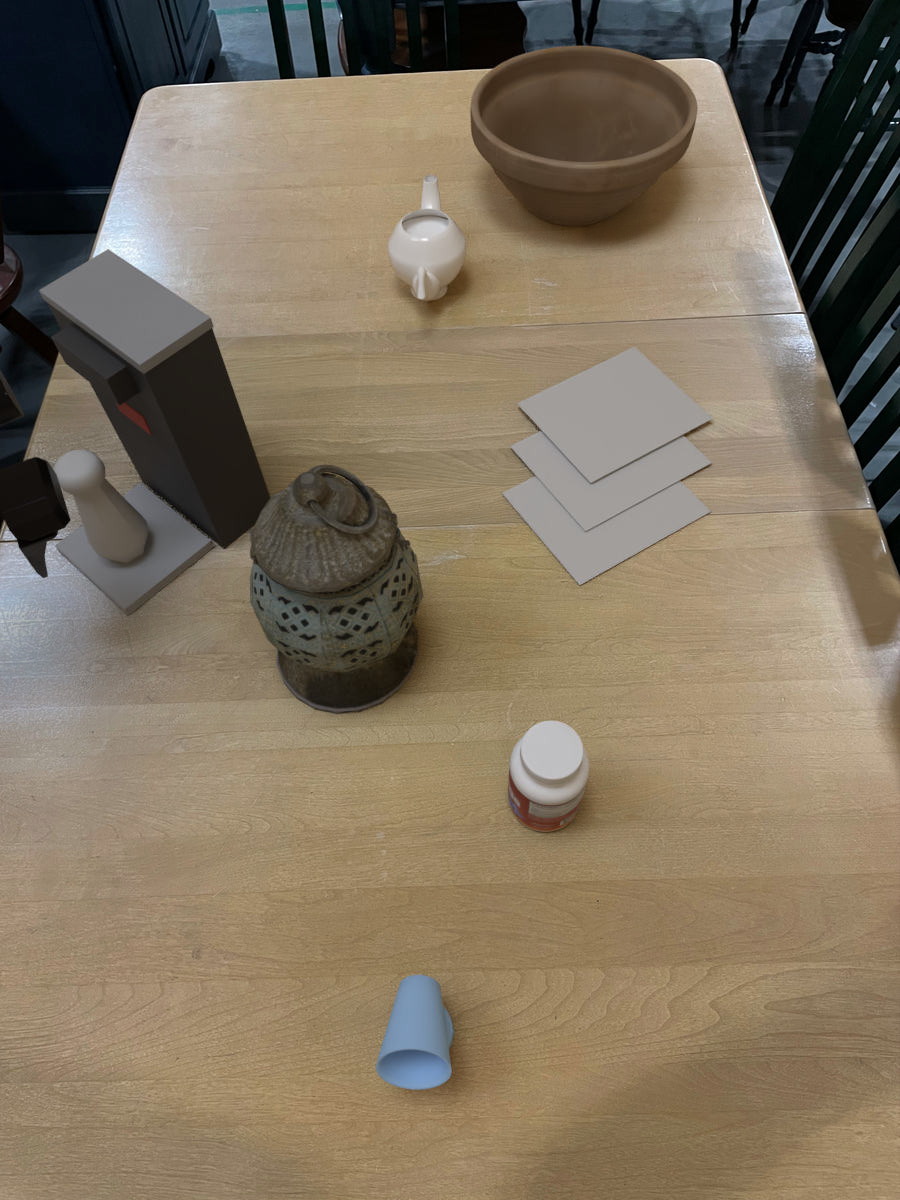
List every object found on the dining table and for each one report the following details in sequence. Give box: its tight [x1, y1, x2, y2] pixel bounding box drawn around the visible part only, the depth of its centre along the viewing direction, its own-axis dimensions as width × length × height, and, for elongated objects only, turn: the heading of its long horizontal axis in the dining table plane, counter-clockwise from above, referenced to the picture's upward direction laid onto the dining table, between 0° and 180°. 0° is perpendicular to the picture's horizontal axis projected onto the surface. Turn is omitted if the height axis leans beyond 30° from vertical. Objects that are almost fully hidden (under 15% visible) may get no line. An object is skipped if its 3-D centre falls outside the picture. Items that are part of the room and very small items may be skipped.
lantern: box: [249, 464, 424, 715], centre depth 70 cm, size 14×14×25 cm
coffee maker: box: [38, 248, 272, 616], centre depth 79 cm, size 19×14×25 cm
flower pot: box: [469, 45, 698, 227], centre depth 112 cm, size 28×28×13 cm
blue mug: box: [375, 974, 455, 1091], centre depth 59 cm, size 5×10×7 cm
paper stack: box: [501, 346, 714, 586], centre depth 92 cm, size 23×25×1 cm
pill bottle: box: [507, 720, 590, 833], centre depth 68 cm, size 6×6×11 cm
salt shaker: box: [53, 448, 148, 563], centre depth 81 cm, size 6×6×13 cm
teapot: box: [387, 174, 467, 302], centre depth 104 cm, size 10×20×9 cm, turn 177°
